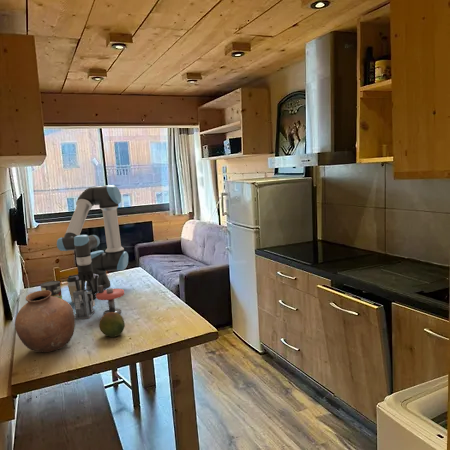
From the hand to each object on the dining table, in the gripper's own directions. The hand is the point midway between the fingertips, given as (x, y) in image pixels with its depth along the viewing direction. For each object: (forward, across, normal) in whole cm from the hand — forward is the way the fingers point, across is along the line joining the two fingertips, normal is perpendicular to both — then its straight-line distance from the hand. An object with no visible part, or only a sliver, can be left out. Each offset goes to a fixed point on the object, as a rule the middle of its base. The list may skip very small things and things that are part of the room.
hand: (89, 306), depth 221 cm
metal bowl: (+2, +15, -10) cm, 18 cm away
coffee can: (+2, -23, +7) cm, 24 cm away
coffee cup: (+2, -13, +17) cm, 21 cm away
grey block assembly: (+2, 0, -9) cm, 9 cm away
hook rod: (-3, 0, -7) cm, 8 cm away
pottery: (+2, -1, -49) cm, 49 cm away
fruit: (+2, +24, -39) cm, 46 cm away
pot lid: (-8, +15, -10) cm, 20 cm away
